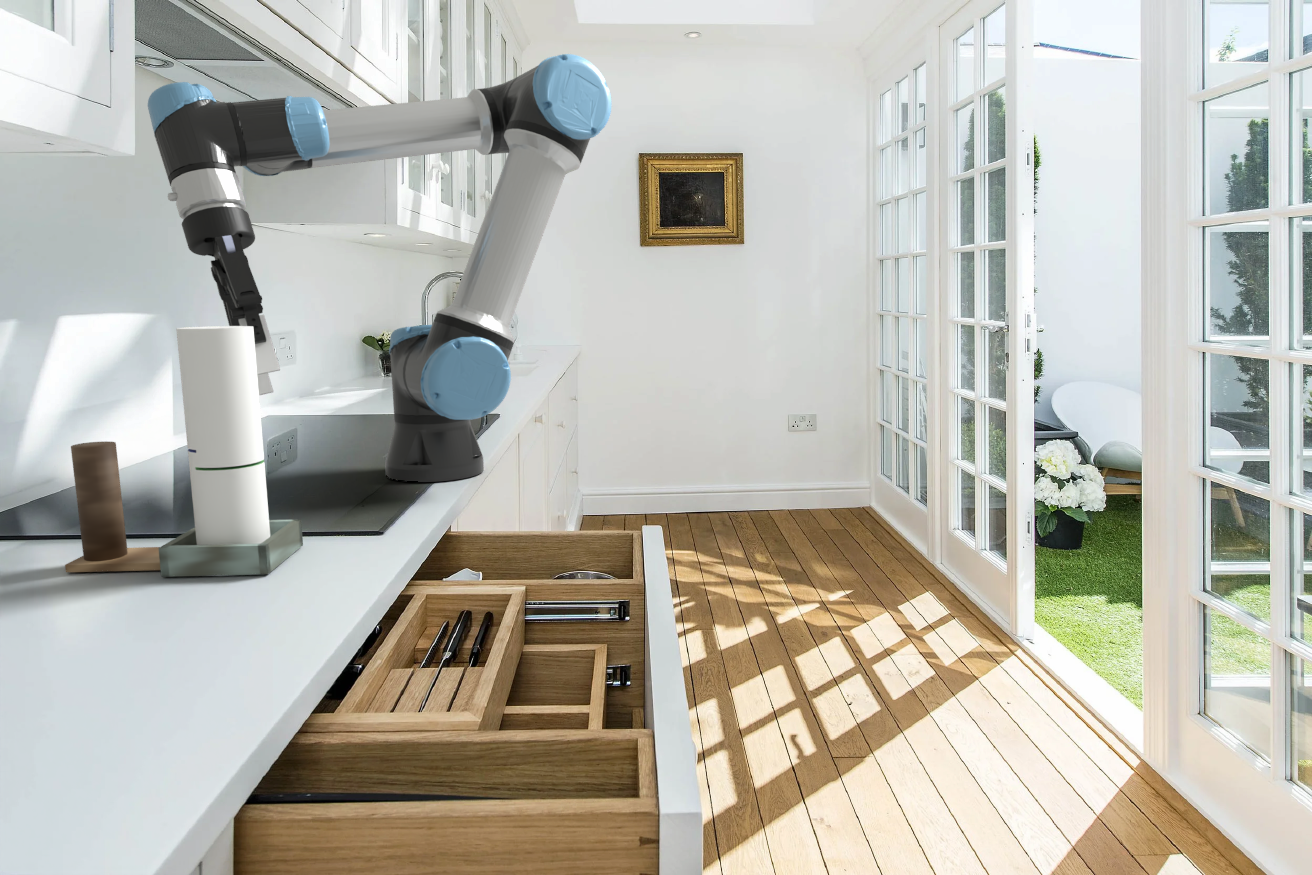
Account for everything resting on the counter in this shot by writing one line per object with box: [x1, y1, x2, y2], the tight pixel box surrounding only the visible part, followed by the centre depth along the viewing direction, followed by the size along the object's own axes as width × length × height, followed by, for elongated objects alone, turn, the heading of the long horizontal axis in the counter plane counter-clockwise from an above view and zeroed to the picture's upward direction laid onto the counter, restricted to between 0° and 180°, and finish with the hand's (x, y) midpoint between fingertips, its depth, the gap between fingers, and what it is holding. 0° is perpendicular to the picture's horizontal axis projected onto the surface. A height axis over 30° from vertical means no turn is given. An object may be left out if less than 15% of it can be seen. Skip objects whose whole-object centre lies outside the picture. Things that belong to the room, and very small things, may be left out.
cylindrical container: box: [176, 325, 270, 545], centre depth 95 cm, size 7×7×25 cm
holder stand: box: [64, 440, 304, 578], centre depth 95 cm, size 21×11×13 cm, turn 93°
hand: (264, 384), depth 108 cm, fingers open, 13 cm apart
